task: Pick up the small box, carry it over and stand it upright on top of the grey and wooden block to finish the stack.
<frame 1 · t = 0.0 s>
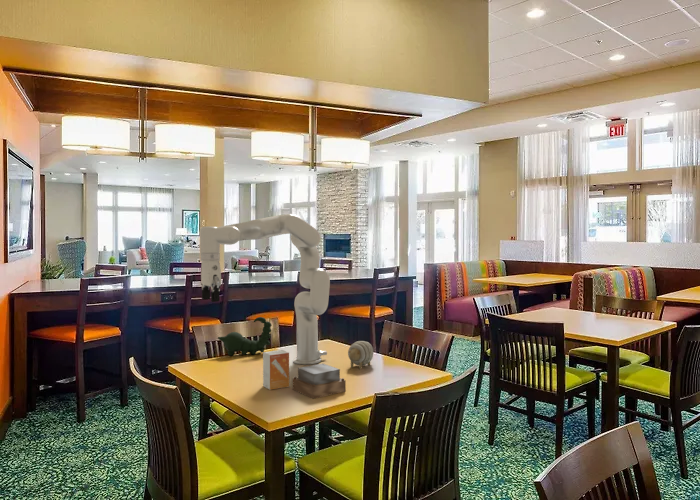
hand: (210, 300, 204), 31 cm above the table, fingers open, 9 cm apart
toy figurine: (245, 354, 247), on the table
toy sheep: (361, 366, 223), on the table
small box: (276, 387, 193), on the table
grey and wooden block: (318, 390, 188), on the table
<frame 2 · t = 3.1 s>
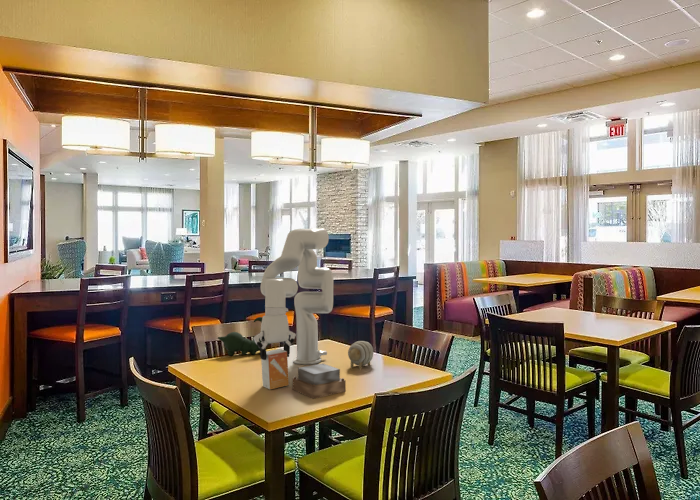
hand: (275, 357, 191), 11 cm above the table, fingers open, 9 cm apart
nothing on the table moved.
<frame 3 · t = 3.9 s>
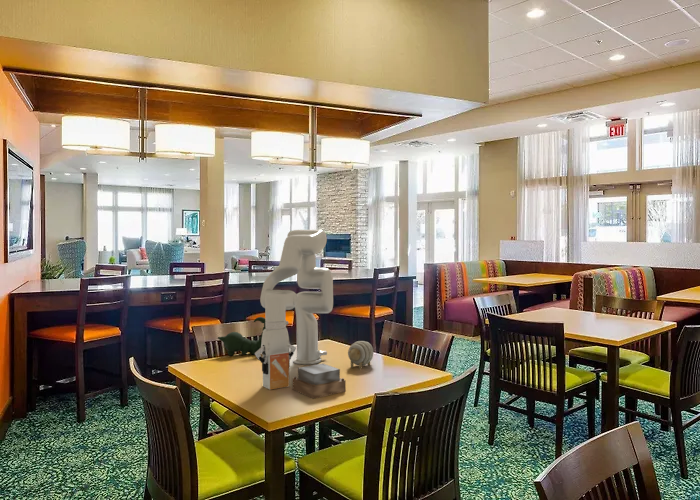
hand: (276, 371, 193), 6 cm above the table, fingers closed on small box, 8 cm apart
small box: (275, 387, 193), on the table, touching gripper
everything else where it was.
when the fingers open (15 cm above the table, at t = 11.0 s): small box drops 1 cm, resting on grey and wooden block.
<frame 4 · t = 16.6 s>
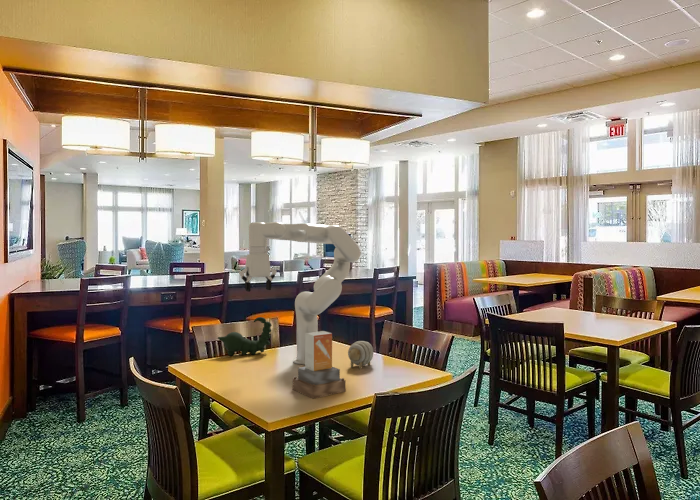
hand: (258, 290, 221), 33 cm above the table, fingers open, 9 cm apart
small box: (318, 368, 188), point 8 cm above the table, touching grey and wooden block
everything else where it was.
at the end: small box inside the target area on the grey and wooden block (0.4 cm from its centre), point 7.8 cm above the grey and wooden block's base; small box tilted 0°; the gripper is holding nothing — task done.
